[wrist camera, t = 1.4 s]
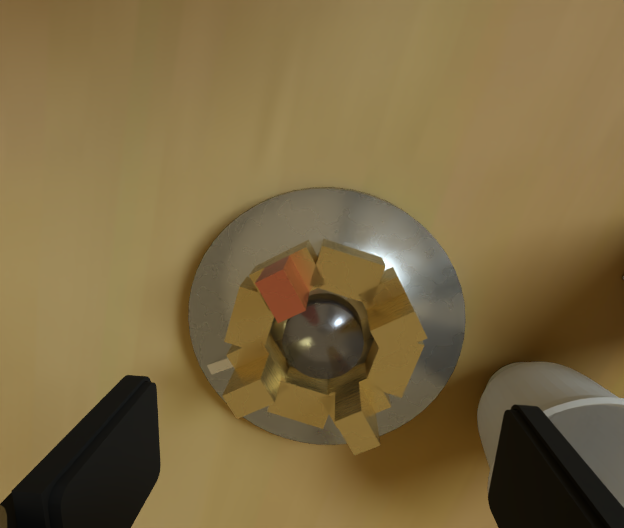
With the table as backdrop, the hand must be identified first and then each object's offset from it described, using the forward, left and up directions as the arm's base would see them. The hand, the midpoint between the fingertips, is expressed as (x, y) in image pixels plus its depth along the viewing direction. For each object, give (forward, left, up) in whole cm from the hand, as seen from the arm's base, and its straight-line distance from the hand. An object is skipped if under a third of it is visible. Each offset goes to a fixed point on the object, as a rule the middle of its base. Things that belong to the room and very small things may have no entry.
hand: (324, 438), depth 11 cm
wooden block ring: (+3, +5, -20) cm, 21 cm away
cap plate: (+3, +5, -22) cm, 23 cm away
